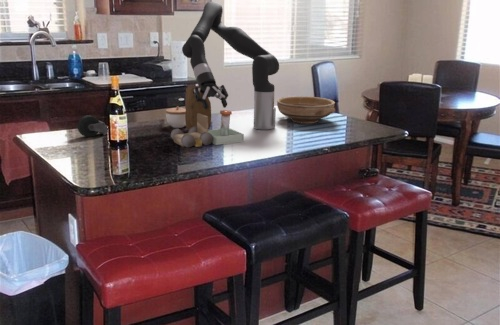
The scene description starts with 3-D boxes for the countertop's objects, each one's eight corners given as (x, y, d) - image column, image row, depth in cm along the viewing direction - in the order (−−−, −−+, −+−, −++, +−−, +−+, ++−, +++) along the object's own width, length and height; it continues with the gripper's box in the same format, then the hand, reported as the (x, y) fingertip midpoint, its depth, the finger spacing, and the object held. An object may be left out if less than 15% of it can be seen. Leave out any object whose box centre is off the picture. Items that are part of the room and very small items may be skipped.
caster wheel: (83, 141, 211) (116, 133, 220) (79, 119, 208) (112, 111, 217) (77, 139, 215) (110, 130, 224) (73, 117, 212) (106, 109, 221)
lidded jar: (191, 124, 242) (190, 104, 239) (187, 129, 232) (187, 108, 229) (168, 123, 242) (168, 104, 240) (164, 128, 232) (163, 108, 229)
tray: (228, 134, 222) (228, 127, 221) (243, 141, 211) (243, 134, 210) (201, 138, 216) (201, 131, 215) (215, 144, 205) (215, 137, 204)
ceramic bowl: (352, 124, 247) (354, 104, 244) (308, 131, 231) (309, 109, 228) (302, 112, 275) (302, 93, 273) (260, 117, 259) (260, 98, 256)
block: (190, 133, 224) (189, 87, 218) (184, 129, 230) (183, 85, 225) (212, 131, 229) (212, 86, 223) (206, 127, 235) (206, 84, 229)
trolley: (199, 137, 217) (198, 112, 213) (213, 144, 205) (213, 117, 202) (170, 140, 210) (170, 114, 207) (183, 148, 199) (183, 120, 196)
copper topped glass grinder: (226, 135, 218) (228, 110, 215) (232, 137, 214) (233, 112, 212) (216, 136, 216) (218, 110, 213) (222, 138, 212) (223, 112, 209)
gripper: (216, 80, 225) (228, 111, 219) (186, 82, 218) (198, 114, 212) (221, 70, 219) (234, 101, 213) (191, 71, 212) (203, 103, 206)
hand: (216, 107), depth 212 cm, fingers open, 8 cm apart
